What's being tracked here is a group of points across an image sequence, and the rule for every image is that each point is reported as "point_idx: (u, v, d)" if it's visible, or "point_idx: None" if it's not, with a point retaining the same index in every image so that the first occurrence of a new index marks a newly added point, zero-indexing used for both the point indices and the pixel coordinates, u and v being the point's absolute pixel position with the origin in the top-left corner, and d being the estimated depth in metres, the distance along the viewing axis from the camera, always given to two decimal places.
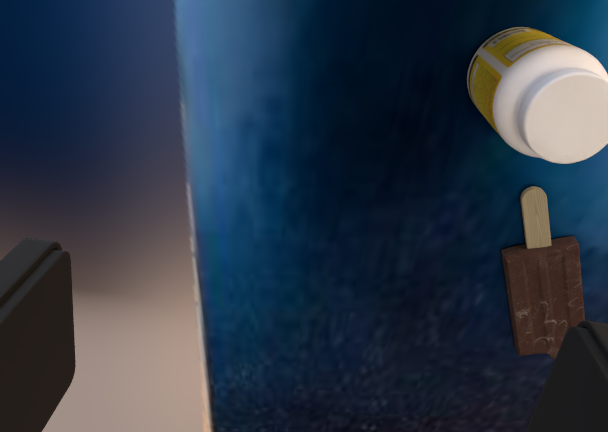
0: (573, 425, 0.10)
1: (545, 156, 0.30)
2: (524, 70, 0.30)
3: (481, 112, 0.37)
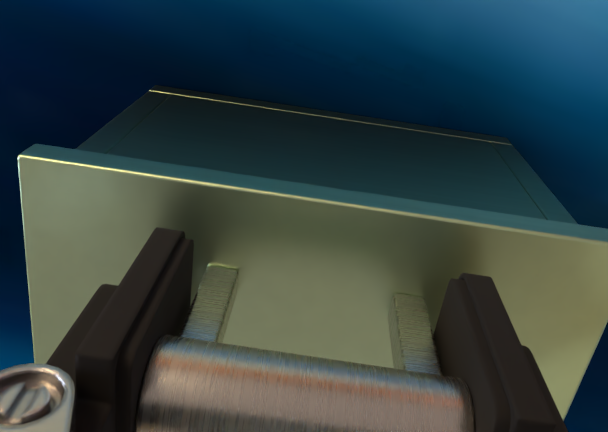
0: (446, 365, 0.11)
1: None
2: None
3: None
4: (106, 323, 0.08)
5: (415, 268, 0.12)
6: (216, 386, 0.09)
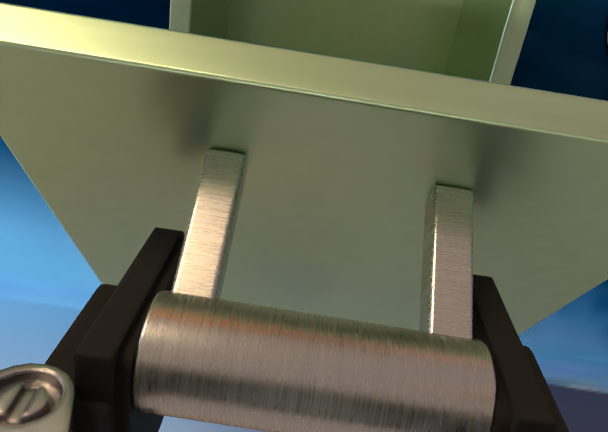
0: None
1: None
2: None
3: None
4: (105, 323, 0.08)
5: (466, 166, 0.10)
6: (212, 384, 0.08)
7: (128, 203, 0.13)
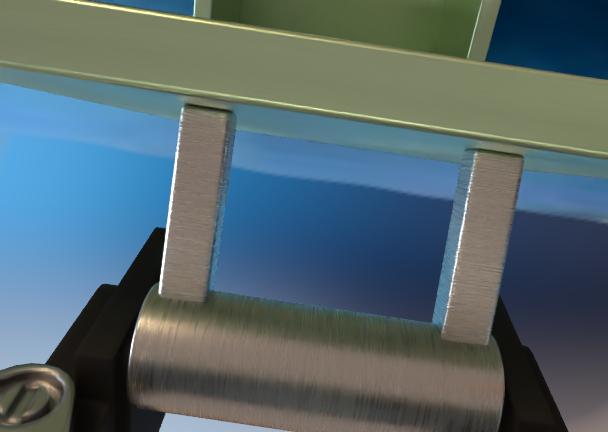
0: None
1: None
2: None
3: None
4: (105, 323, 0.08)
5: (518, 152, 0.07)
6: (207, 408, 0.08)
7: (110, 99, 0.11)
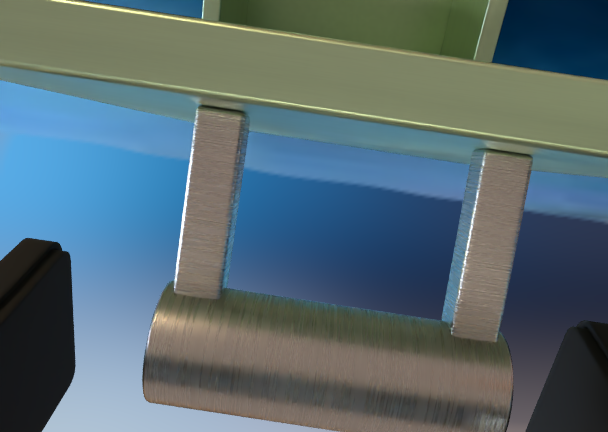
0: (573, 425, 0.10)
1: None
2: None
3: None
4: None
5: (526, 152, 0.07)
6: (221, 403, 0.08)
7: (124, 100, 0.11)
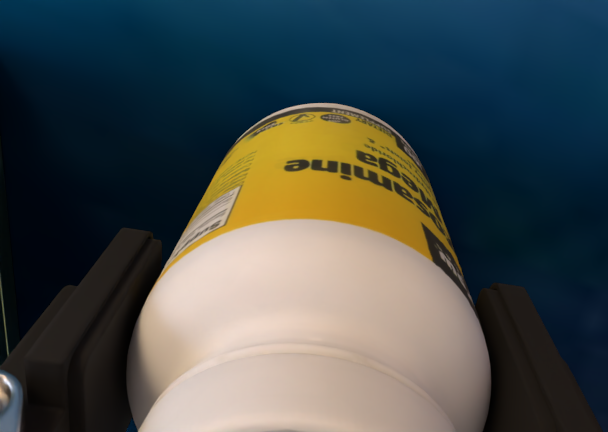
0: None
1: None
2: None
3: None
4: (60, 326, 0.08)
5: None
6: None
7: None
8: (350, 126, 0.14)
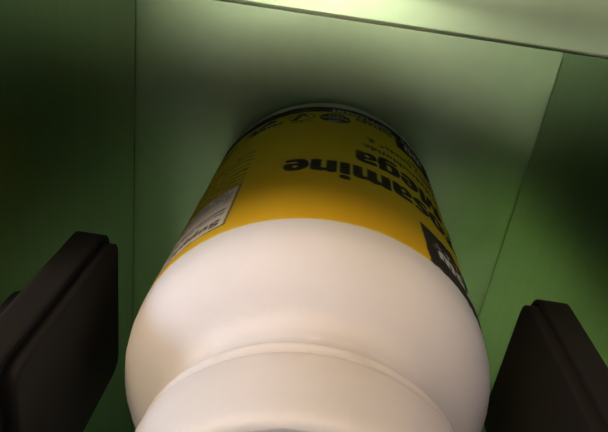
0: (524, 398, 0.10)
1: None
2: None
3: None
4: None
5: None
6: None
7: None
8: (350, 125, 0.14)
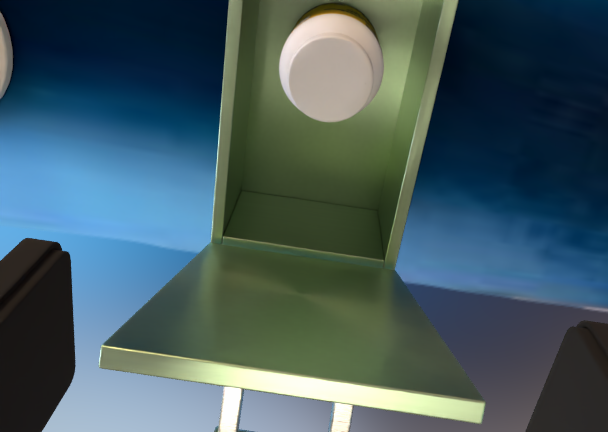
0: (573, 425, 0.10)
1: (363, 103, 0.32)
2: None
3: None
4: None
5: None
6: None
7: None
8: (344, 5, 0.38)
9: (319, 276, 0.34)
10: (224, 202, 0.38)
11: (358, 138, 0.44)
